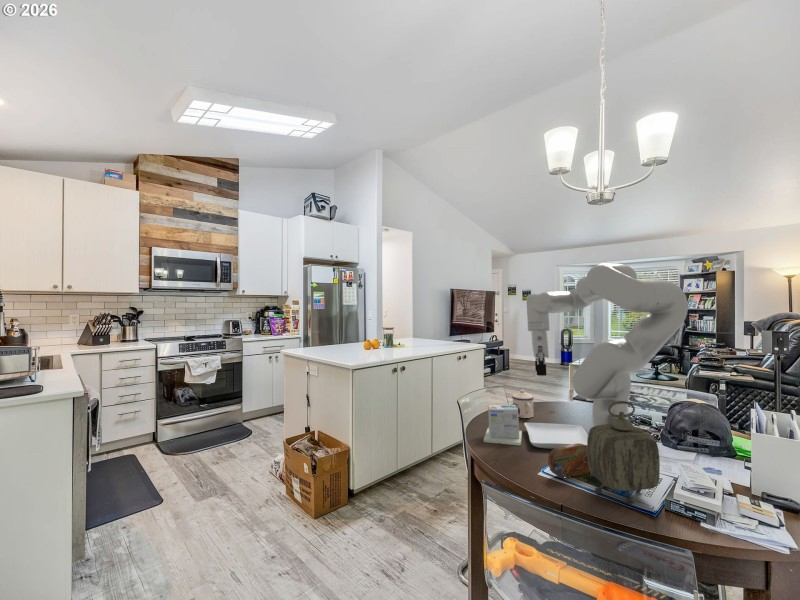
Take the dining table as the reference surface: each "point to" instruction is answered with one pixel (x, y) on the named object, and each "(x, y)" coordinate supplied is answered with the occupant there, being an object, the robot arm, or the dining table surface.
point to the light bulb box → (503, 421)
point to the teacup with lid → (523, 404)
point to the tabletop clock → (623, 455)
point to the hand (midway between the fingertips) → (540, 373)
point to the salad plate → (555, 435)
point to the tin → (569, 460)
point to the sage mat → (503, 439)
